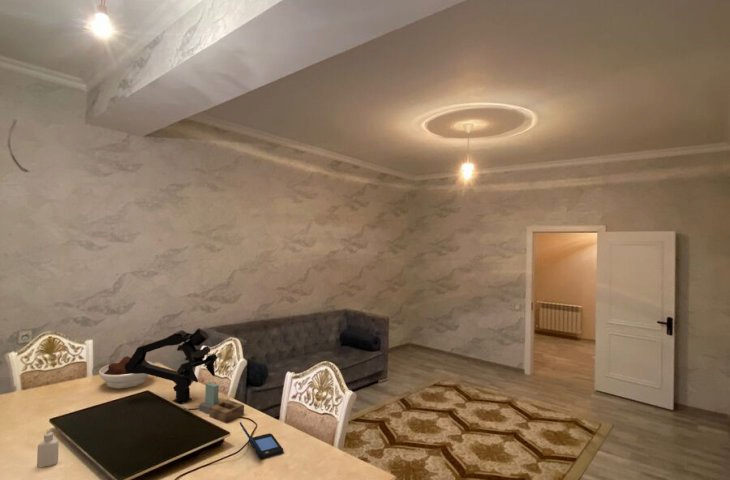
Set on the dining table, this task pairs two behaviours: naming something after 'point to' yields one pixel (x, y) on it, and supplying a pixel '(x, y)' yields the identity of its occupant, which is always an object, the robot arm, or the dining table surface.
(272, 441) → the handheld game console
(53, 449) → the eye dropper bottle
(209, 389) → the block
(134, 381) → the bowl of chocolate mousse
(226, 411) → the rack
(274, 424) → the dining table surface
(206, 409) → the plate
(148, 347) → the robot arm
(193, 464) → the dining table surface
